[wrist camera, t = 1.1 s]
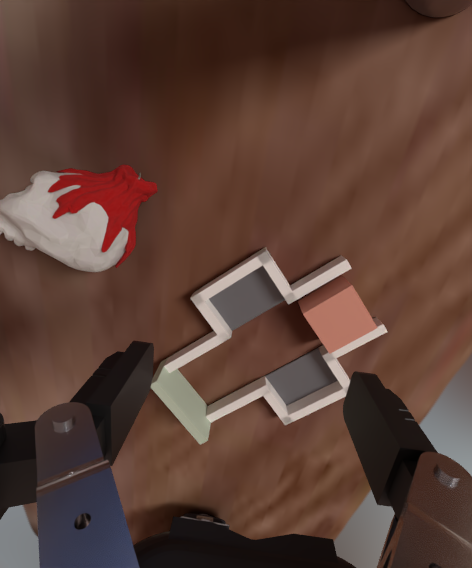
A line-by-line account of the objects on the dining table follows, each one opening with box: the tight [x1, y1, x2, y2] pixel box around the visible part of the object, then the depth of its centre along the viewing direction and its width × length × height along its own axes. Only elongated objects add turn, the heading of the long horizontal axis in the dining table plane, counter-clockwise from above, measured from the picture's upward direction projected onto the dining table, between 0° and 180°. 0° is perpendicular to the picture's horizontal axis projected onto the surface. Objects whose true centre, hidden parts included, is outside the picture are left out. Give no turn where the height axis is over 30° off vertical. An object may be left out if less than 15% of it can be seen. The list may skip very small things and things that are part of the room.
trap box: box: [151, 247, 387, 444], centre depth 36 cm, size 27×22×5 cm
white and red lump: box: [0, 165, 157, 272], centre depth 30 cm, size 9×11×15 cm
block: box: [298, 275, 378, 354], centre depth 34 cm, size 6×6×4 cm
